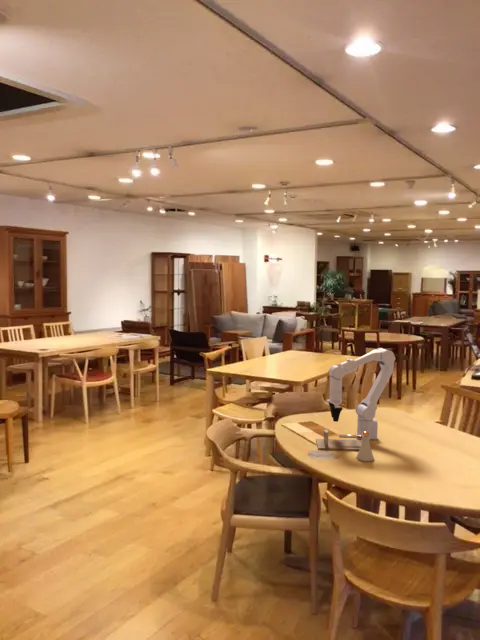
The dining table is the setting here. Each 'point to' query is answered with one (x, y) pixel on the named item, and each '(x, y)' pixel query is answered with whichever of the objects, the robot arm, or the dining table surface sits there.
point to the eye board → (338, 444)
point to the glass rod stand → (355, 435)
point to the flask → (365, 450)
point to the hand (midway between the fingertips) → (334, 419)
